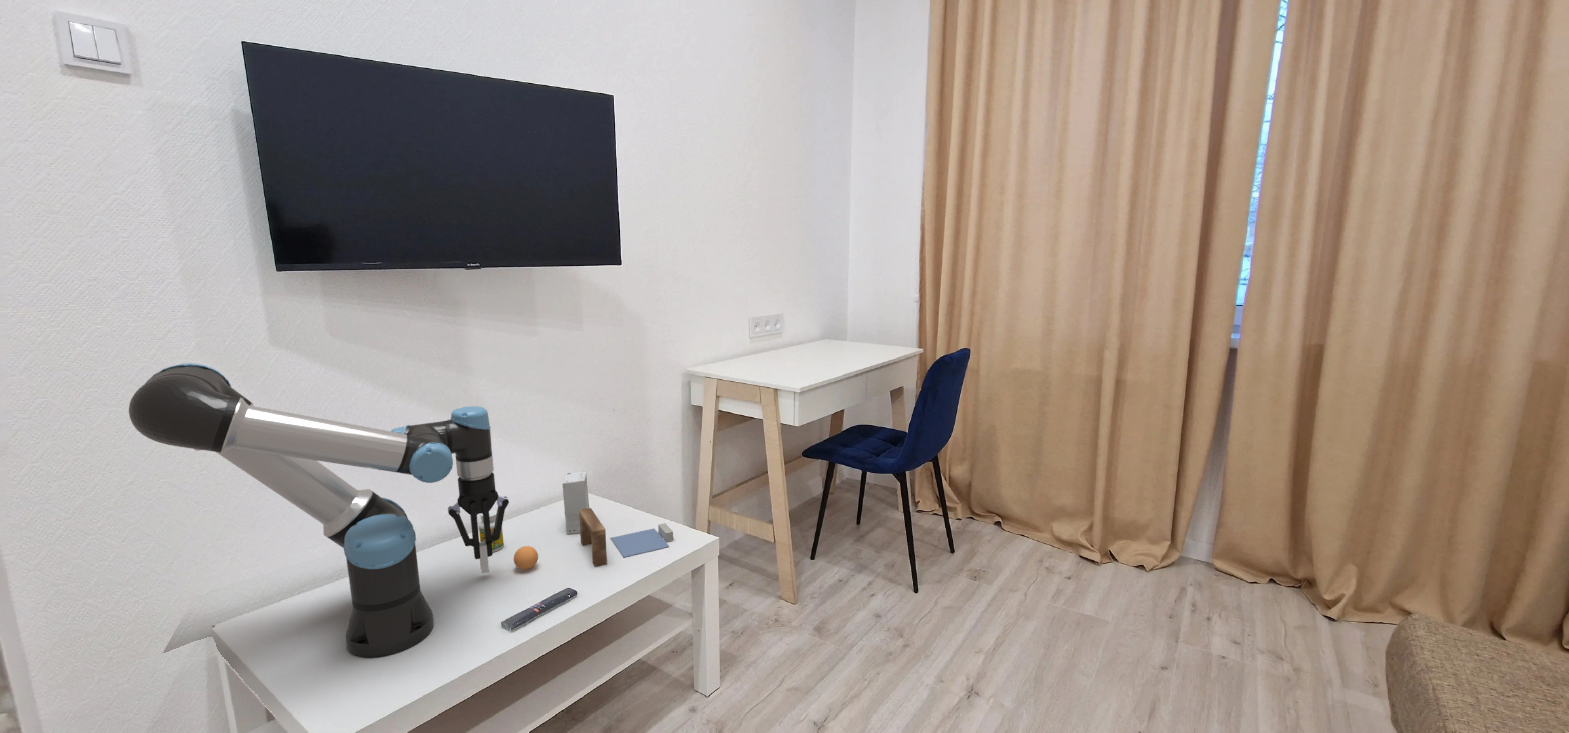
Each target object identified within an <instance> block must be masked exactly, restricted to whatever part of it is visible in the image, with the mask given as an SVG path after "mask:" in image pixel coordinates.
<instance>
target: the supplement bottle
mask: <svg viewBox="0 0 1569 733" xmlns="http://www.w3.org/2000/svg"><path fill="white" fill-rule="evenodd" d="M496 514H497V510H493V509H491V510H490V511H489V518H490V529H491V534H493V531H494V525H495V520H496ZM480 520H481V521H480V522H479V524H478V534H479V542H483V541H485V534H484V524H483V514H482V513H480ZM503 532H504V531H503V527H502V528H501V534H500V538H499V540H495V541H493V542H492V552H493V553H495V552H498V551H501V550H502V548H504V534H503Z"/></svg>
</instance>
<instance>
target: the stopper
mask: <svg viewBox="0 0 1569 733" xmlns="http://www.w3.org/2000/svg"><path fill="white" fill-rule="evenodd" d="M657 526H658V531H657V532H658V534H659V535H660V536H661V537H662V538H663V539H664V541H665V542H666V543H669V542H672V541H674V531H673V529H671V528H670V526H669V525H667V523H666V522H665V523H663V522H662V523H659V524H657Z"/></svg>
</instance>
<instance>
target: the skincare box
mask: <svg viewBox="0 0 1569 733" xmlns="http://www.w3.org/2000/svg"><path fill="white" fill-rule="evenodd" d="M587 475H588V474H587V471H578V472H577V471H575V472H566V473H565V476H564V477H563V481H562V494H563V506H564V516H565V518H564V519H565V532H566V535H570V534H580V519H579V510H581V509H587V508H590V502H589V489H588V476H587Z"/></svg>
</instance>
